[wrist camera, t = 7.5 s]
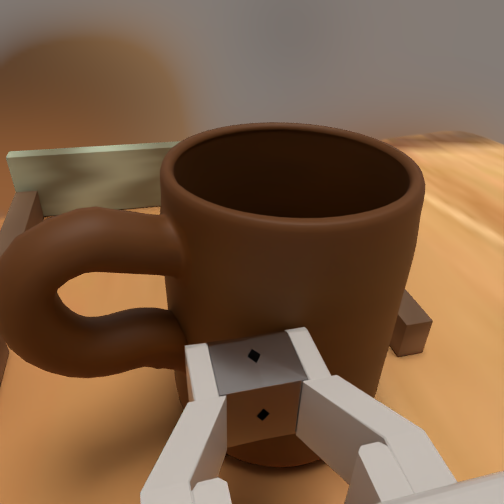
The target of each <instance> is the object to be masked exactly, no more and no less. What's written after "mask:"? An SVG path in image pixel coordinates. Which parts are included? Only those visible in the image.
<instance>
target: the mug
mask: <svg viewBox="0 0 504 504" xmlns="http://www.w3.org/2000/svg"><path fill="white" fill-rule="evenodd" d="M160 189H161V206H160V215H152V214H144V213H138V212H132V211H124V210H117V209H109V208H103V207H97V206H95V207H86V208H78V209H75V210H72V211H69V212H66V213H63V214H60V215H57V216H53V217H50V218H47V219H46V220H44V221H42V222H41V223H39V224H37V225H35V226H34V227H32V228H30V229H28V230H27V231H25V232H23V233H22V234H20V235H18V236H16V237H15V238H14V240H13V241H12V242H11V244H10V245H9V246H8V248H7V249H6V250H5V252H4V253H3V255H2V256H1V257H0V334H1V336H2V337H3V339H4V340H5V342H6V343H7V345H8V346H9V348H10V349H11V350H13V351H14V352H15V353H16V354H17V355H19V356H20V357H21V358H22V359H24V360H25V361H26V362H28V363H30V364H32V365H34V366H36V367H38V368H40V369H43V370H45V371H48V372H51V373H55V374H59V375H63V376H67V377H78V378H94V377H104V376H109V375H114V374H119V373H122V372H126V371H129V370H132V369H136V368H140V367H144V366H145V367H153V368H156V369H161V368H166V369H173V370H175V379H176V386H177V390H178V394H179V398H180V402H181V404H182V406H183V409H185V407H186V405H187V403H188V402H189V397H188V387H187V378H186V364H185V350H184V348H185V346H186V345H193V344H201V343H206V342H213V341H220V340H228V339H235V338H243V337H248V336H254V335H260V334H266V333H272V332H277V331H285V330H289V329H295V328H301V327H305V328H306V329H307V330H308V332H309V334H310V336H311V337H312V339H313V341H314V343H315V345H316V347H317V349H318V351H319V353H320V355H321V357H322V359H323V361H324V363H325V365H326V366H327V368H328V370H329V372H330V374H331V376H334V375H338V376H340V377H341V378H343V379H344V380H346V381H347V382H349V383H351V384H352V385H354V386H355V387H357V388H358V389H360V390H362V391H363V392H365V393H366V394H368V395H369V396H371V397H373V398H374V397H375V394H376V390H377V387H378V383H379V379H380V376H381V372H382V368H383V365H384V361H385V358H386V354H387V351H388V348H389V345H390V341H391V338H392V334H393V331H394V327H395V323H396V319H397V316H398V312H399V308H400V305H401V301H402V297H403V293H404V290H405V286H406V282H407V279H408V275H409V271H410V268H411V264H412V260H413V256H414V252H415V247H416V243H417V236H418V229H419V222H420V215H421V210H422V206H423V201H424V195H425V181H424V178H423V174H422V171H421V170H420V168H419V166H418V165H417V164H416V163H415V162H414V161H413V160H412V159H411V158H410V157H409V156H407V155H406V154H405V153H403V152H402V151H400V150H398V149H397V148H395V147H393V146H391V145H389V144H387V143H385V142H382V141H379V140H377V139H374V138H371V137H368V136H365V135H362V134H359V133H355V132H351V131H347V130H342V129H338V128H332V127H326V126H319V125H311V124H299V123H274V122H270V123H250V124H240V125H232V126H226V127H221V128H216V129H212V130H208V131H205V132H202V133H198V134H196V135H193V136H191V137H188V138H187V139H185V140H183V141H181V142H179V143H178V144H176V145H175V146H174V147H172V148H171V149H170V150H169V151H168V152H167V154H166V155H165V157H164V159H163V161H162V164H161V168H160ZM89 272H110V273H129V274H149V275H162V276H165V285H166V294H167V303H168V310H165V309H159V308H134V309H127V310H124V311H120V312H116V313H112V314H109V315H104V316H99V317H85V316H81V315H78V314H77V313H75V312H73V311H71V310H70V309H69V308H68V307H67V306H65V305H64V304H63V302H62V301H61V299H60V297H59V296H58V293H57V289H58V288H60V287H61V286H62V285H63V284H65V283H66V282H67V281H68V280H70V279H72V278H74V277H77V276H79V275H81V274H83V273H89ZM226 454H228V455H230V456H232V457H235V458H237V459H239V460H242V461H245V462H248V463H252V464H257V465H262V466H271V467H289V466H297V465H303V464H307V463H311V462H314V461H317V460H320V459H321V458H320V457H319V456H318V455H317V454H316V453H315V452H314V451H312V450H311V449H310V448H309V447H308V446H307V445H306V444H305V443H304V442H303V441H302V440H301V439H300V438H298V437H297V436H296V433H295V434H290V435H284V436H279V437H273V438H268V439H262V440H258V441H253V442H249V443H245V444H241V445H237V446H233V447H228V448H227V452H226Z"/></svg>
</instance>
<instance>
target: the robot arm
mask: <svg viewBox="0 0 504 504" xmlns="http://www.w3.org/2000/svg"><path fill="white" fill-rule="evenodd" d="M184 350H185V364H186V378H187V387H188V397H189V402H188V403H187V405H186V407H185V409H184V411H183V413H182V414H181V416H180V418H179V420H178V422H177V424H176V426H175V428H174V430H173V432H172V434H171V435H170V437H169V439H168V441H167V443H166V445H165V447H164V449H163V451H162V453H161V454H160V456H159V458H158V460H157V462H156V464H155V466H154V468H153V470H152V472H151V473H150V475H149V477H148V479H147V481H146V483H145V485H144V487H143V489H142V491H141V492H140V499H141V504H232V502H231V498H230V493H229V489H228V484H227V482H226V481H224V480H222V479H220V478H218V475H219V472H220V469H221V466H222V463H223V461H224V458H225V455H226V452H227V448H228V447H233V446H237V445H241V444H245V443H249V442H253V441H258V440H262V439H268V438H273V437H279V436H284V435H290V434H295V433H296V436H297V437H298V438H300V439H301V440H302V441H303V442H304V443H305V444H306V445H307V446H308V447H309V448H310V449H311V450H312V451H314V452H315V453H316V454H317V455H318V456H319V457H320V458H321V459H322V460H323V461H324V462H325V463H326V464H328V465H329V466H330V467H331V468H332V469H333V470H334V471H335V472H336V473H337V474H338V475H339V476H340V477H341V478H343V479H344V480H345V481H346V482H347V483H348V484H349V489H348V492H347V496H346V500H345V503H344V504H504V471H500V472H496V473H492V474H488V475H485V476H481V477H477V478H473V479H469V480H465V481H461V482H457V481H456V479H455V478H454V476H453V475H452V473H451V471H450V470H449V468H448V467H447V465H446V464H445V462H444V461H443V459H442V457H441V456H440V454H439V453H438V451H437V450H436V448H435V447H434V445H433V443H432V442H431V440H430V439H429V437H428V436H427V434H426V433H425V431H424V430H423V429H421V428H420V427H418V426H417V425H415V424H413V423H412V422H410V421H409V420H407V419H406V418H404V417H402V416H401V415H399V414H398V413H396V412H395V411H393V410H391V409H390V408H388V407H387V406H385V405H384V404H382V403H380V402H379V401H377V400H376V399H374V398H373V397H371V396H369V395H368V394H366V393H365V392H363V391H362V390H360V389H358V388H357V387H355V386H354V385H352V384H351V383H349V382H347V381H346V380H344V379H343V378H341V377H340V376H338V375H334V376H331V374H330V372H329V370H328V368H327V366H326V365H325V363H324V361H323V359H322V357H321V355H320V353H319V351H318V349H317V347H316V345H315V343H314V341H313V339H312V337H311V336H310V334H309V332H308V330H307V329H306V328H305V327H301V328H295V329H289V330H285V331H277V332H272V333H266V334H260V335H254V336H248V337H243V338H235V339H228V340H220V341H213V342H206V343H201V344H193V345H186V346H185V348H184Z"/></svg>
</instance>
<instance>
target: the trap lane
mask: <svg viewBox="0 0 504 504" xmlns="http://www.w3.org/2000/svg"><path fill="white" fill-rule="evenodd" d="M180 142H181V141H180ZM178 143H179V142H163V143H145V144H130V145H112V146H96V147H81V148H79V147H78V148H62V149H45V150H29V151H12V152H9V153H8V155H7V157H6V159H7V163H8V166H9V170H10V173H11V177H12V180H13V184H14V187H15V191H16V193H15V196H14V198H13V201H12V203H11V206H10V208H9V211H8V213H7V216H6V218H5V221H4V223H3V226H2V228H1V231H0V257H1V256H2V255H3V253H4V252H5V250H6V249H7V248H8V246H9V245H10V244H11V242H12V241H13V240H14V238H15V237H16V236H18V235H20V234H22V233H23V232H25V231H27V230H28V229H30V228H32V227H34V226H35V225H37V224H39V223H41V222H42V221H43V217H44V216H53V215H60V214H63V213H66V212H69V211H72V210H75V209H78V208H86V207H95V206H97V207H103V208H109V209H117V210H119V209H130V208H141V207H152V206H161V189H160V168H161V164H162V161H163V159H164V157H165V155H166V154H167V152H168V151H169V150H170V149H171V148H172V147H174V146H175V145H176V144H178ZM432 322H433V321H432V319H431V318H430V317H429V316H428V315H427V314H426V313H425V311H424V310H423V309H422V308H421V307H420V306H419V304H418V303H417V302H416V301H415V300H414V299H413V298H412V296H411V295H410V294H409V293H408V292H407V291H406V290H404V293H403V297H402V301H401V305H400V308H399V312H398V316H397V319H396V323H395V327H394V331H393V334H392V338H391V341H390V346H391V348H392V349H393V350H394V352H395V353H396V355H397V356H398V357H399V356H404V355H409V354H415V353H420V352H423V349H424V346H425V343H426V340H427V337H428V334H429V331H430V328H431V325H432ZM8 354H9V350H8V347H7V344H6V342H5V340H4V339H3V337H2V336H1V334H0V385H1V381H2V377H3V373H4V369H5V365H6V361H7V358H8Z"/></svg>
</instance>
